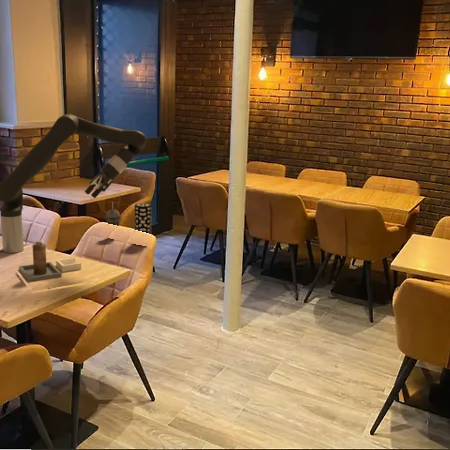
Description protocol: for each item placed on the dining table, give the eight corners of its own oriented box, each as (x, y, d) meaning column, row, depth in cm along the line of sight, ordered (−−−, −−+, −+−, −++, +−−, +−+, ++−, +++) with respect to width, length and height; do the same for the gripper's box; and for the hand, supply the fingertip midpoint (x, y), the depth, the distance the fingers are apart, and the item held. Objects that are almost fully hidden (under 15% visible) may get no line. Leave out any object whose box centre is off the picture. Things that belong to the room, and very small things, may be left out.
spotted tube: (142, 246, 259) (142, 207, 254) (131, 242, 264) (131, 204, 259) (154, 242, 266) (154, 205, 261) (143, 239, 270) (143, 202, 265)
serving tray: (19, 271, 216) (18, 266, 215) (50, 267, 223) (50, 261, 222) (28, 284, 203) (28, 278, 202) (61, 278, 210) (61, 272, 210)
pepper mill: (32, 272, 213) (30, 241, 210) (44, 270, 216) (43, 239, 213) (35, 275, 209) (34, 244, 206) (48, 273, 212) (46, 242, 209)
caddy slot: (56, 267, 223) (56, 259, 222) (74, 264, 227) (74, 257, 226) (62, 273, 216) (62, 266, 215) (81, 271, 220) (81, 263, 219)
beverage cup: (121, 236, 275) (121, 199, 270) (119, 240, 268) (118, 202, 263) (107, 235, 275) (107, 199, 270) (105, 239, 268) (104, 202, 263)
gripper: (102, 160, 232) (78, 186, 229) (114, 164, 221) (88, 192, 217) (113, 171, 236) (90, 197, 233) (125, 175, 225) (101, 203, 221)
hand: (89, 195), depth 225 cm, fingers open, 8 cm apart
